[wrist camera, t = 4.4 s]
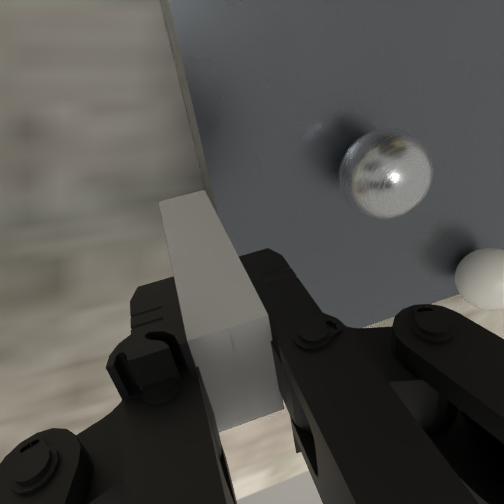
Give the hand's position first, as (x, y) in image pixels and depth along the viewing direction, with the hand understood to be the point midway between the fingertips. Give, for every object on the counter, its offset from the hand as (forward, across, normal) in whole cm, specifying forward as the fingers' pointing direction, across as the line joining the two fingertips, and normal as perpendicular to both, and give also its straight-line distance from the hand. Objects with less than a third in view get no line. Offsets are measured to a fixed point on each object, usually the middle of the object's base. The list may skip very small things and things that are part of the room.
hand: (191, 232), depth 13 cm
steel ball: (0, +7, 0) cm, 7 cm away
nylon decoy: (0, +13, -7) cm, 15 cm away
